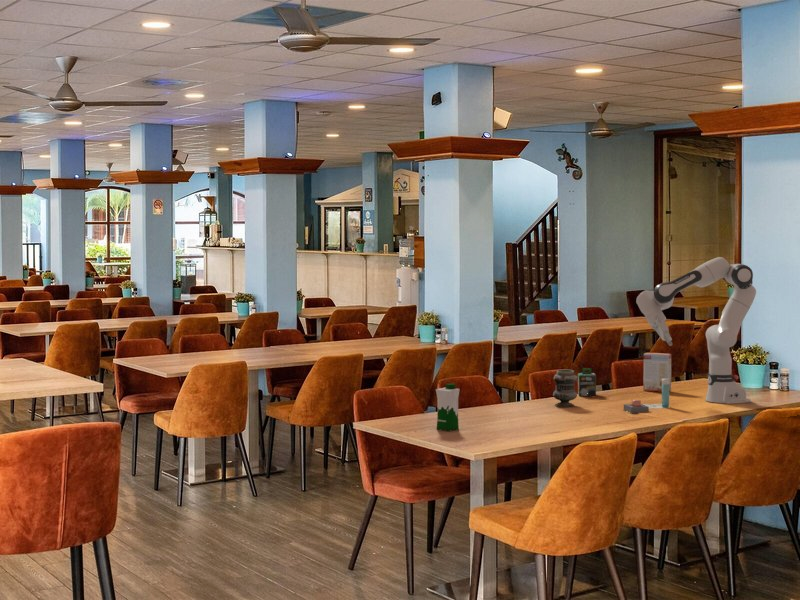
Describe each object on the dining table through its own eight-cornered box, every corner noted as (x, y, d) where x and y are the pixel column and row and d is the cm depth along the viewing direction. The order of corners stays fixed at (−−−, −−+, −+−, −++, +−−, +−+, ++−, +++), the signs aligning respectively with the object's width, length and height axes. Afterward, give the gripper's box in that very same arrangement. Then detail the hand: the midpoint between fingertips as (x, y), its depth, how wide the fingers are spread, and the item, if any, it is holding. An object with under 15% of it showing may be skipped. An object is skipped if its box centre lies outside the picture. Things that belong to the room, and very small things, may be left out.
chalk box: (594, 394, 547) (594, 366, 546) (596, 396, 538) (596, 369, 537) (577, 393, 548) (577, 366, 547) (578, 396, 539) (578, 368, 538)
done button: (638, 407, 494) (638, 399, 494) (642, 409, 490) (642, 401, 490) (629, 408, 494) (630, 399, 493) (633, 409, 489) (633, 401, 489)
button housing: (640, 409, 497) (640, 403, 497) (648, 412, 488) (648, 406, 488) (623, 410, 496) (623, 404, 495) (631, 413, 487) (631, 407, 487)
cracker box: (671, 391, 556) (671, 353, 554) (668, 392, 551) (668, 354, 549) (646, 389, 563) (646, 352, 562) (642, 390, 558) (643, 353, 557)
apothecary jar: (563, 408, 501) (564, 372, 500) (547, 405, 511) (548, 369, 510) (582, 406, 508) (582, 370, 507) (565, 403, 518) (566, 368, 517)
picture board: (661, 404, 512) (661, 403, 512) (673, 409, 499) (673, 407, 499) (627, 405, 509) (627, 404, 509) (639, 410, 496) (639, 409, 495)
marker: (667, 406, 503) (667, 378, 502) (670, 407, 500) (670, 379, 499) (660, 406, 503) (660, 378, 502) (663, 407, 499) (663, 379, 498)
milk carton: (461, 429, 449) (461, 384, 448) (448, 432, 442) (448, 386, 441) (446, 426, 455) (446, 382, 453) (433, 429, 448) (433, 384, 447)
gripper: (661, 311, 507) (676, 334, 501) (663, 322, 526) (677, 344, 520) (650, 317, 507) (664, 340, 502) (652, 328, 526) (666, 350, 521)
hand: (670, 342), depth 511 cm, fingers open, 8 cm apart
